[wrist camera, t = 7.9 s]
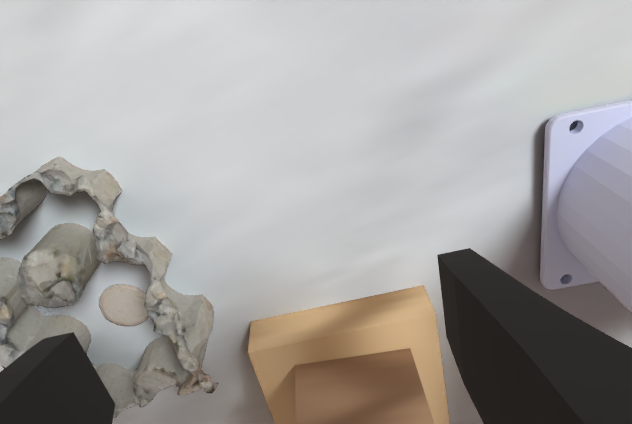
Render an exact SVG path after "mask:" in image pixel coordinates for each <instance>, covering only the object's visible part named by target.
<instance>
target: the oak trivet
mask: <svg viewBox="0 0 632 424" xmlns="http://www.w3.org/2000/svg"><path fill="white" fill-rule="evenodd" d="M409 348H410V349H411V352H412V355H413V358H414V361H415V364H416V367H417V371H418V374H419V377H420V380H421V383H422V386H423V389H424V392H425V395H426V399H427V402H428V405H429V408H430V411H431V414H432V417H433V420H434V423H435V424H450V421H449V413H448V405H447V397H446V390H445V382H444V374H443V366H442V358H441V351H440V343H439V335H438V327H437V320H436V313H435V311H434V309H433V306H432V304H431V302H430V299H429V297H428V295H427V292H426V290H425V288H424V285H422V286H418V287H413V288H408V289H403V290H399V291H394V292H389V293H384V294H380V295H375V296H370V297H365V298H360V299H356V300H351V301H346V302H341V303H337V304H332V305H327V306H322V307H318V308H313V309H308V310H303V311H299V312H294V313H289V314H284V315H279V316H275V317H270V318H265V319H260V320H256V321H251V326H250V336H249V345H248V354H249V357H250V360H251V362H252V365H253V367H254V370H255V373H256V375H257V378H258V381H259V383H260V386H261V389H262V391H263V394H264V397H265V399H266V402H267V404H268V407H269V410H270V412H271V415H272V418H273V420H274V423H275V424H296V404H295V365H300V364H307V363H314V362H321V361H327V360H334V359H341V358H348V357H354V356H361V355H368V354H375V353H382V352H388V351H395V350H402V349H409Z"/></svg>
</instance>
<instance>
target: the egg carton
mask: <svg viewBox="0 0 632 424" xmlns="http://www.w3.org/2000/svg"><path fill="white" fill-rule="evenodd" d="M47 189H48V190H49V191H50V192H51V193H55V194H63V195H66V196H69V197H71V196H72V195H74V194H75V193H78V192H82V191H85V192H87V193H88V194H89V196H90V197H91V198H92V199H93V200H95V201H96V202H97V204H98V206H99V208H100V210H101V212H100V214H99V215H98V216H97V221H96V222H95V225H94V228H93V232H92V231H91V230H89V229H88V228H86V227H84V226H82V225H79V224H74V223H65V224H59V225H56V226H55V227H54V228H52V229H51V230H50V231H49V232H48V233H47V234H46V235H45V236H44V237H43V238H42V239H41V240H40V241H39V242H38V244H37V245H36V246H35V247H34V248H33V249H32V250H31V251H30V252H29V253H28V254H27V255H26V256H24V258H23V260H22V262H20V261H18V260H15V259H11V258H3V257H1V258H0V364H1V366H2V367H3V368H4V369H5V368H6V367H7V366H9V365H10V364H11V363H12V362H13V361H15V360H16V359H17V358H18V357H20V356H21V355H22V354H23V353H25V352H26V351H27V350H29V349H30V348H31V347H32V346H34V345H35V344H37V343H38V342H40V341H41V340H42V339H44V338H48V337H53V336H57V335H62V334H67V333H72V332H74V334H75V336H76V337H77V339H78V341H79V343H80V344H81V346H82V348H83V349H84V351H85V352H86V350H87V348H88V346H89V344H90V342H91V335H90V332H89V330H88V328H87V327H86V326H85V325H84V324H83V323H82V322H81V321H79V320H77V319H75V318H73V317H70V316H66V315H52V316H45V315H43V314H42V313H41V312H40V311H39V310H38V309H37V308H36V306H44V307H47V308H58V307H64V306H68V305H71V306H73V305H74V304H76V303H77V301H78V300H79V298H80V297H81V295H82V292H83V290H84V288H85V286H86V284H87V282H88V281H89V279H90V278H91V276H92V274H93V273H94V271H95V270H96V268H97V266H98V265H99V263H100V262H103V263H110V262H114V261H124V262H127V263H129V264H132V265H141V264H145V265H146V267H147V269H148V271H149V273H150V275H151V282H150V285H149V288H148V290H147V293H146V294H145V293H143V291H141V290H140V289H139V288H137V287H134V286H131V285H126V284H116V285H112V286H110V287H108V288H107V289H105V290H104V291H103V293H102V295H101V296H100V299H99V306H100V309H101V311H102V313H103V315H104V317H105V318H106V319H108V320H109V321H110V322H113V323H115V324H117V325H122V326H136V325H138V324H141V323H142V322H144V321H146V320H147V318H148V317H150V318H151V319H152V321H153V323H154V332H156V333H160V334H163V335H165V337H160V338H157V339H155V340H154V341H152V342H151V343H150V344H149V345H148V346H147V348H146V350H145V353H144V355H143V358H142V360H141V363H140V365H139V368H138V369H137V370H135V371H130V370H128V369H126V368H124V367H122V366H119V365H116V364H103V365H94V364H93V363H92V365H93V367H94V368H95V370H96V372H97V373H98V375H99V377H100V379H101V380H102V382H103V384H104V385H105V387H106V389H107V391H108V392H109V394H110V396H111V397H112V399H113V401H114V403H115V409H114V415H113V418H116V417H117V416H118V414H119V413H120V412H122V411H124V410H126V409H128V408H130V407H132V406H135V405H139V406H140V407H144V406H145V405H147V404H148V403H149V402H150V401H151V400H152V399H153V398H154V396H155V395H156V393H157V392H159V391H160V390H163V389H165V388H168V387H170V386H172V385H174V384H176V386H177V387H179V390H178V395H186V394H189V393H192V392H195V391H197V390H199V389H201V388H204V389H205V391H204V392H206V393H213V391H214V390H215V389H216V387H217V384H218V383H212V382H211V377H210V376H209V375H208V374H204V373H203V372H202V370H201V368H202V362H203V360H204V356H205V351H206V346H207V342H208V338H209V335H210V333H211V331H212V328H213V314H214V310H213V306H212V305H211V303H210V302H209V301H208V300H207V299H206V297H205V296H204V295H202V294H201V295H196V296H193V295H183V294H181V293H178V292H176V291H175V290H173V289H172V288H171V287H170V286H168V285H167V283H166V282H165V280H164V276H165V274H166V269H167V267H168V264H169V261H170V260H171V258H172V253H171V252H170V251H169V250H168V249H167V248H166V247H165V246H164V245H163V244H162V243H161V242H159V241H158V239H157V238H155V237H147V238H146V237H136V236H134V235H132V234H129V233H128V232H127V230H126V229H125V228H124V227H123V226H122V225H121V223H120V222H119V221H118V220H117V218H116V217H115V216H114V215H113V213H112V210H113V203H114V200H115V198H116V197H117V196H118V195H119V194H120V193H121V191H122V189H121V187H120V186H119V184H118V182H117V181H116V180H115V178H114V177H113V176H112V175H111V174H110V173H109V172H108V171H106V170H105V169H103V170H96V171H88V170H83V169H80V168H78V167H76V166H74V165H72V164H71V163H69V162H68V161H66V160H65V159H64V158H62V157H57V158H55V159H53V160H51V161H50V162H48V163H46V164H44V165H43V166H41V168H40V169H38V170H37V171H36V172H34V173H33V174H31V175H29V176H27V177H25V178H23V179H22V180H21V181H19V182H18V183H16V184H15V185H14V186H12V187H11V188H10V189H9V190H8V191H7V192H6V193H5V194H4V195H2V196H1V197H0V239H3V238H5V237H6V236H9V235H10V234H12V232H13V230H14V228H15V227H16V226H17V225H18V224H19V223H20V222H21V221H22V220H23V219H24V218H25V217H26V216H27V215H28V214H29V213H30V212H31V211H33V210H34V209H35V208H36V207H37V206H38V205H39V204H40V203H41V202H42V201H43V200H44V198H45V195H46V193H47Z"/></svg>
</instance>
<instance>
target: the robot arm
mask: <svg viewBox="0 0 632 424" xmlns="http://www.w3.org/2000/svg"><path fill="white" fill-rule="evenodd" d="M576 120H577V121H578V124H577V126H576V127H575V129H573V130H571V131H570V130H569V128H570V125H571V124H572V123H573V122H574V121H576ZM438 264H439V273H440V282H441V291H442V299H443V308H444V317H445V326H446V335H447V339H448V342H449V344H450V347H451V350H452V353H453V355H454V358H455V361H456V364H457V366H458V369H459V372H460V374H461V377H462V380H463V382H464V385H465V387H466V389H467V391H468V393H469V395H470V397H471V399H472V401H473V403H474V405H475V407H476V409H477V411H478V413H479V415H480V417H481V419H482V421H483V423H484V424H632V348H631V347H629V346H627V345H625V344H623V343H621V342H619V341H617V340H616V339H614V338H612V337H610V336H608V335H606V334H605V333H603V332H601V331H599V330H597V329H596V328H594V327H592V326H590V325H588V324H587V323H585V322H583V321H581V320H580V319H578V318H576V317H574V316H573V315H571V314H569V313H568V312H566V311H564V310H563V309H561V308H559V307H558V306H556V305H555V304H553V303H551V302H550V301H548V300H547V299H545V298H543V297H542V296H540V295H539V294H537V293H535V292H534V291H532V290H531V289H529V288H528V287H526V286H525V285H523V284H522V283H520V282H519V281H517V280H516V279H514V278H513V277H511V276H510V275H508V274H507V273H505V272H504V271H502V270H501V269H499V268H498V267H497V266H495V265H494V264H492V263H491V262H489V261H488V260H486V259H485V258H483V257H482V256H480V255H479V254H477V253H476V252H474V251H473V250H471V249H470V248H469V249H464V250H459V251H454V252H450V253H445V254H440V255H438ZM566 274H567V276H566V277H565V278H563V279H561V278H562V277H563V276H564V275H566ZM599 281H600V282H601V283H602V284H603V285H604V286H605V287H606V288H607V289H608V290H609V291H610V292H611V293H612V294H613V295H614V296H615V297H616V298H617V299H618V300H619V301H620V302H621V303H622V304H623V305H624V306H625V307H626V308H627V309H628V310H629V311H630V312H631V313H632V100H629V101H624V102H619V103H614V104H609V105H603V106H598V107H593V108H588V109H583V110H578V111H573V112H568V113H563V114H558V115H556V116H553V117H552V118H551V119H550V120H549V121H548V123H547V124H546V128H545V146H544V174H543V203H542V232H541V260H540V282H541V283H542V285H543V286H544V287H545V288H546V289H549V290H556V289H561V288H567V287H572V286H577V285H583V284H588V283H594V282H599ZM114 409H115V403H114V401H113V399H112V397H111V396H110V394H109V392H108V391H107V389H106V387H105V385H104V384H103V382H102V380H101V379H100V377H99V375H98V373H97V372H96V370H95V368H94V367H93V365H92V363H91V361H90V360H89V358H88V356H87V355H86V353H85V351H84V349H83V348H82V346H81V344H80V343H79V341H78V339H77V337H76V336H75V334H74V332H72V333H67V334H62V335H57V336H53V337H48V338H44V339H42V340H41V341H40V342H38V343H37V344H35V345H34V346H32V347H31V348H30V349H29V350H27V351H26V352H25V353H23V354H22V355H21V356H20V357H18V358H17V359H16V360H15V361H13V362H12V363H11V364H10V365H9V366H7V367H6V368H5V369H4V370H3V371H1V372H0V424H112V420H113V415H114Z"/></svg>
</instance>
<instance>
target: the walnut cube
mask: <svg viewBox="0 0 632 424" xmlns="http://www.w3.org/2000/svg"><path fill="white" fill-rule="evenodd" d="M295 404H296V424H435V423H434V420H433V417H432V414H431V411H430V408H429V405H428V402H427V399H426V395H425V392H424V389H423V386H422V383H421V380H420V377H419V374H418V371H417V367H416V364H415V361H414V358H413V355H412V352H411V349H410V348H409V349H402V350H395V351H388V352H382V353H375V354H368V355H361V356H354V357H348V358H341V359H334V360H327V361H321V362H314V363H307V364H300V365H295Z"/></svg>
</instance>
